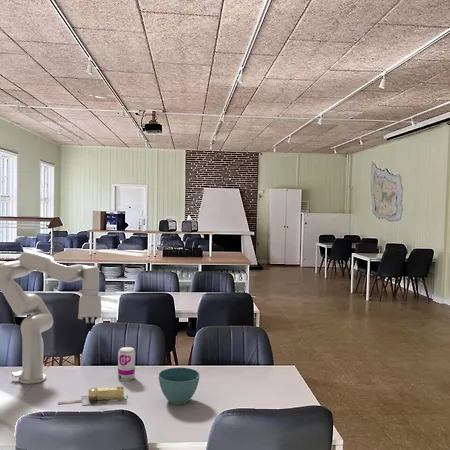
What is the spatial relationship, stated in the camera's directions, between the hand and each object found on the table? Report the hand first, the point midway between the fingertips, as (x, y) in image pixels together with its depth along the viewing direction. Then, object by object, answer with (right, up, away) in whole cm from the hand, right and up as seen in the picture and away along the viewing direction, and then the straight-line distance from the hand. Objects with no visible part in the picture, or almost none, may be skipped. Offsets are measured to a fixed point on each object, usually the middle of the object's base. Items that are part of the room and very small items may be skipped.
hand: (89, 330), depth 234 cm
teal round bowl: (+43, -29, -12) cm, 54 cm away
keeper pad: (+16, -28, -11) cm, 34 cm away
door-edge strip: (+6, -28, -14) cm, 32 cm away
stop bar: (+11, -27, -13) cm, 32 cm away
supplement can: (+15, -27, +13) cm, 34 cm away
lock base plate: (+6, -28, -14) cm, 32 cm away
